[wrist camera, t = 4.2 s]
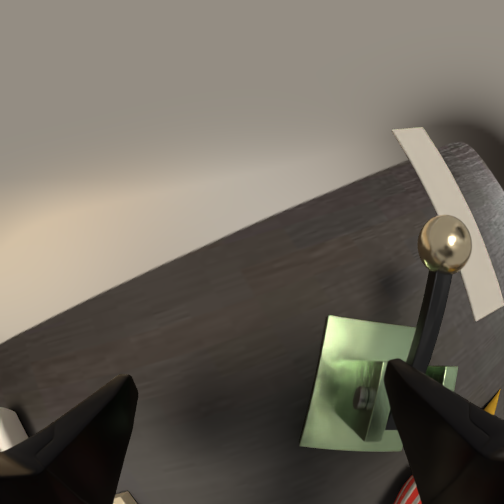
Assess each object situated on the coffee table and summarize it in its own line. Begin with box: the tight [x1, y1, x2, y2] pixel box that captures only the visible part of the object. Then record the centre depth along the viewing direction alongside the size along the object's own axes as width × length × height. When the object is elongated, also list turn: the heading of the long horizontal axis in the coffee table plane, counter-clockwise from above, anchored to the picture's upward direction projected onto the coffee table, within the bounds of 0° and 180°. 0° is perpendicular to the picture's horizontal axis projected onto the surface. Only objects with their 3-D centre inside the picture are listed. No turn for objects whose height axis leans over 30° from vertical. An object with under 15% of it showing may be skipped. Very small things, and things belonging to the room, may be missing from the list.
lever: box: [385, 215, 472, 430], centre depth 13 cm, size 12×3×3 cm, turn 168°
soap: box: [0, 407, 28, 452], centre depth 18 cm, size 9×7×3 cm
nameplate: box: [392, 127, 504, 322], centre depth 25 cm, size 23×1×5 cm
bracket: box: [299, 315, 458, 452], centre depth 16 cm, size 11×9×10 cm
